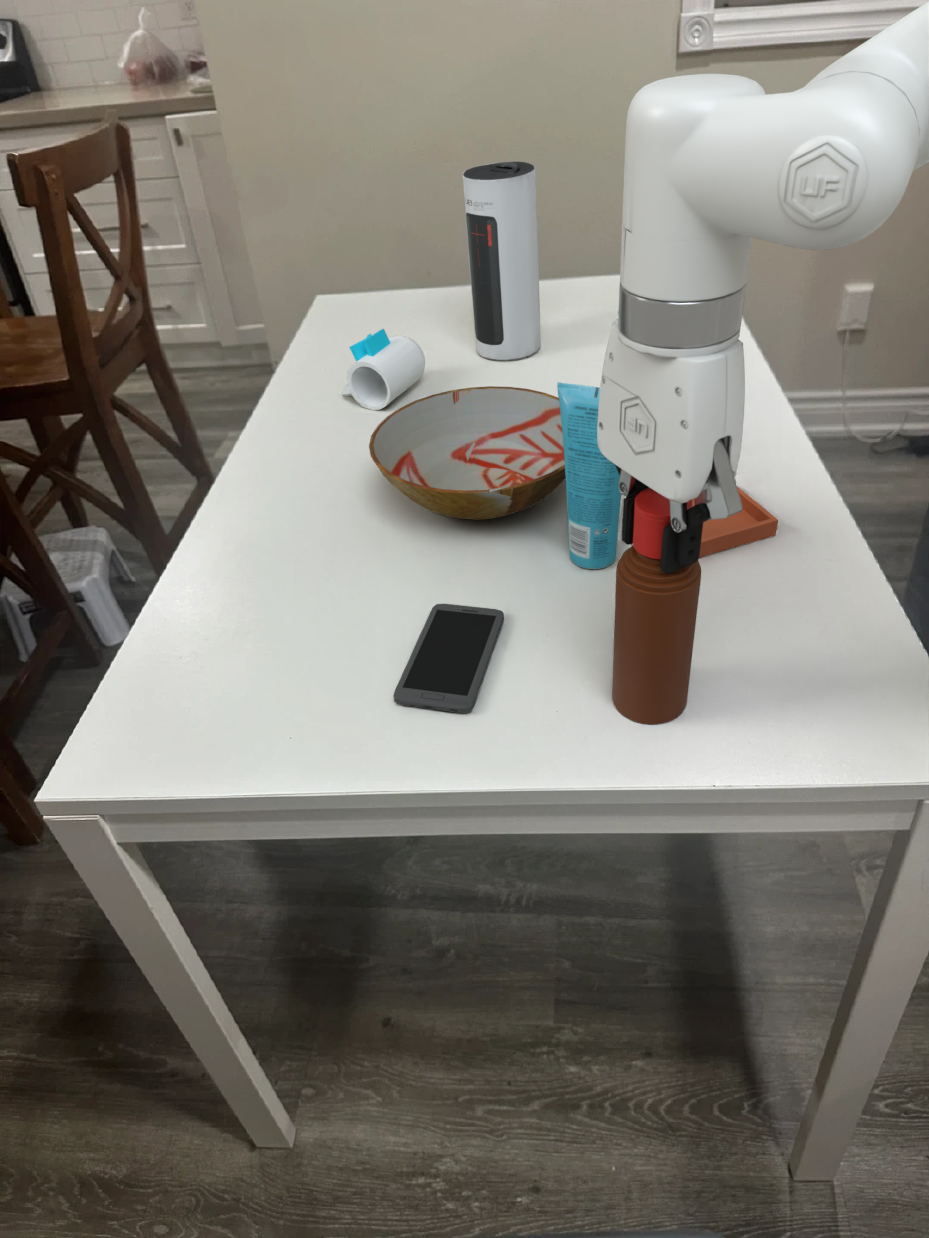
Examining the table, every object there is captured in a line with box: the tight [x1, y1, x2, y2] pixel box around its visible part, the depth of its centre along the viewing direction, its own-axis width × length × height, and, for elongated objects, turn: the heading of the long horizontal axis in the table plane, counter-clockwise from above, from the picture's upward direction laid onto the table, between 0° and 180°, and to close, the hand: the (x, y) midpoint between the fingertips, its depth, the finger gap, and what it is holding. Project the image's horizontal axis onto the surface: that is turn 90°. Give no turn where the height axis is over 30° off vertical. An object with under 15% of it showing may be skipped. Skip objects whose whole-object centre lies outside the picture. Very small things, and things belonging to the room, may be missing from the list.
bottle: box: [611, 545, 702, 725], centre depth 69 cm, size 6×6×20 cm
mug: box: [341, 328, 426, 411], centre depth 126 cm, size 12×9×12 cm
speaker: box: [462, 161, 542, 362], centre depth 128 cm, size 11×10×26 cm
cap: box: [632, 488, 692, 559], centre depth 64 cm, size 4×4×4 cm
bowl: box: [368, 385, 566, 521], centre depth 101 cm, size 25×25×8 cm
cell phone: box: [393, 603, 505, 714], centre depth 81 cm, size 7×14×1 cm, turn 165°
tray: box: [692, 485, 779, 559], centre depth 94 cm, size 12×10×2 cm
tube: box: [556, 381, 622, 570], centre depth 86 cm, size 7×5×19 cm, turn 71°
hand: (659, 549), depth 65 cm, fingers closed on cap, 3 cm apart
